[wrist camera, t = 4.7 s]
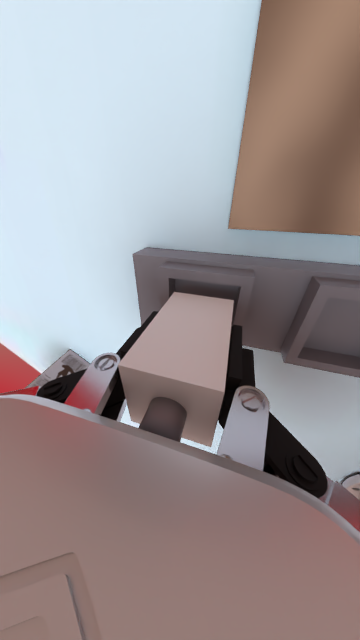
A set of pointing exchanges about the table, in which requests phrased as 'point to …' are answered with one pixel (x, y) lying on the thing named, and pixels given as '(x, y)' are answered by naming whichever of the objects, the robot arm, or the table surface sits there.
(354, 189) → the walnut mat
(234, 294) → the power strip
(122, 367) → the plug
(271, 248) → the table surface
